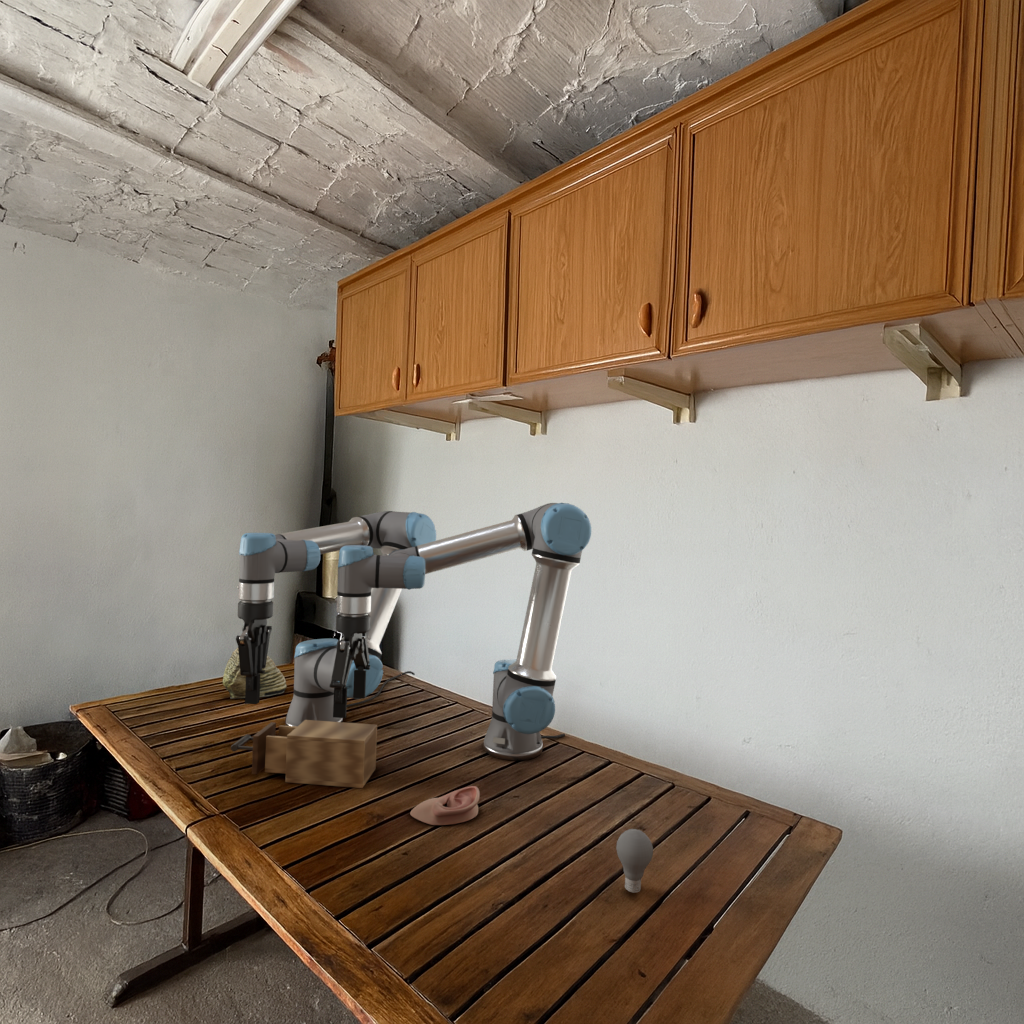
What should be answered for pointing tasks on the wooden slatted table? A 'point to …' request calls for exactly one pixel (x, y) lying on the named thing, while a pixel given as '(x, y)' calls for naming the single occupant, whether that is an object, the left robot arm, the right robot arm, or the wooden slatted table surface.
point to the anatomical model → (449, 807)
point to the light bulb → (634, 857)
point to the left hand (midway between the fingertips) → (252, 702)
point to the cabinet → (331, 753)
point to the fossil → (269, 681)
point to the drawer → (267, 748)
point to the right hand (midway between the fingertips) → (349, 707)
